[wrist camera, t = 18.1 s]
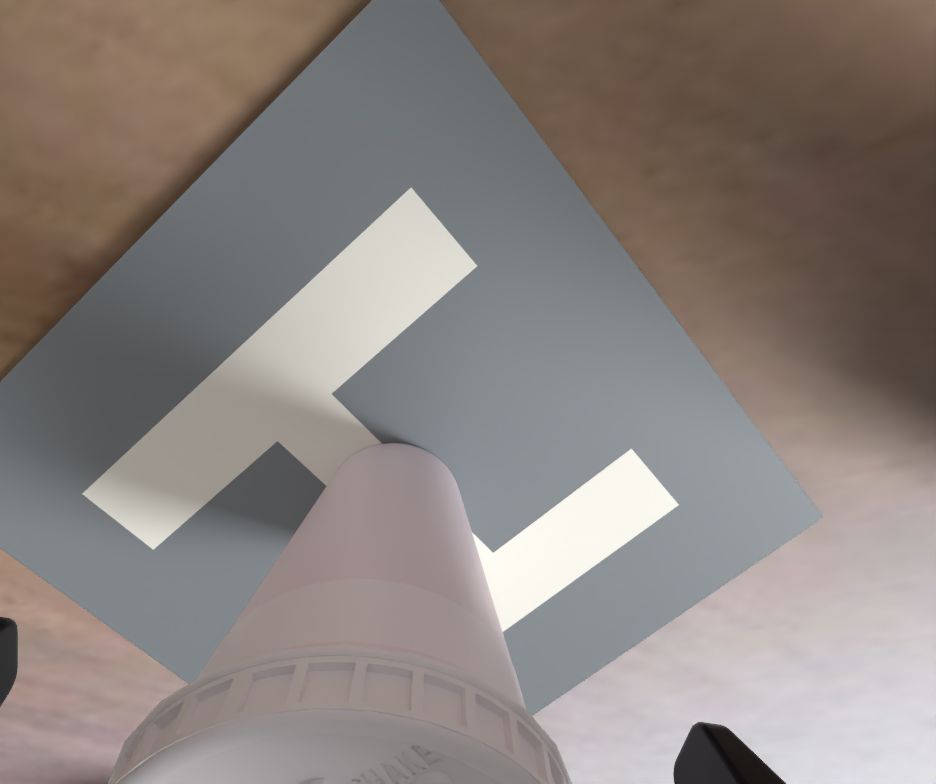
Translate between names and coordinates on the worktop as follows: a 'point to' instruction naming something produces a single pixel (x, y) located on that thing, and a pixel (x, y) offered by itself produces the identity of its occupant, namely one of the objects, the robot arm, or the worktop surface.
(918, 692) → the worktop surface
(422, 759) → the smoothie
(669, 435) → the board
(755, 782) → the robot arm
